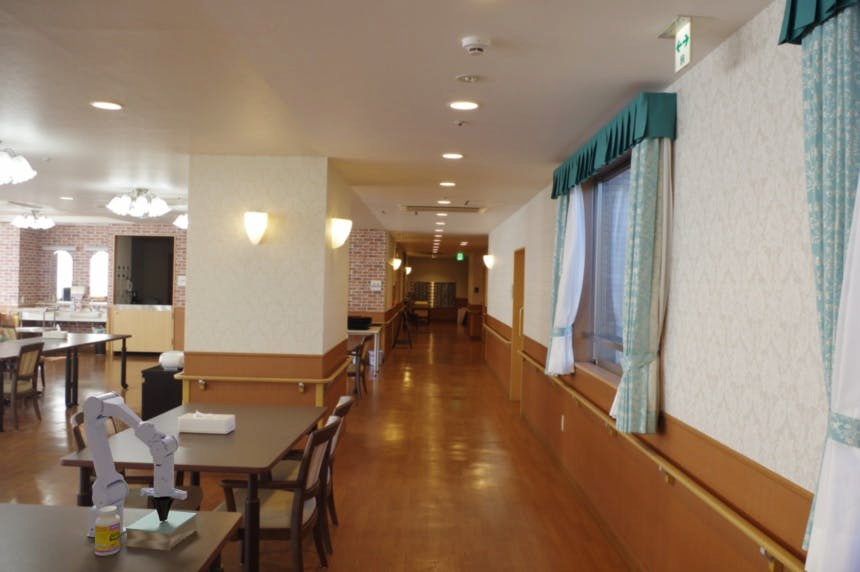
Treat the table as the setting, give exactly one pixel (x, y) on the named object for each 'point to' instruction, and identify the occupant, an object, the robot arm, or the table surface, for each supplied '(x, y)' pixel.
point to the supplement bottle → (107, 531)
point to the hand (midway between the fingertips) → (163, 520)
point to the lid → (161, 522)
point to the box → (160, 537)
